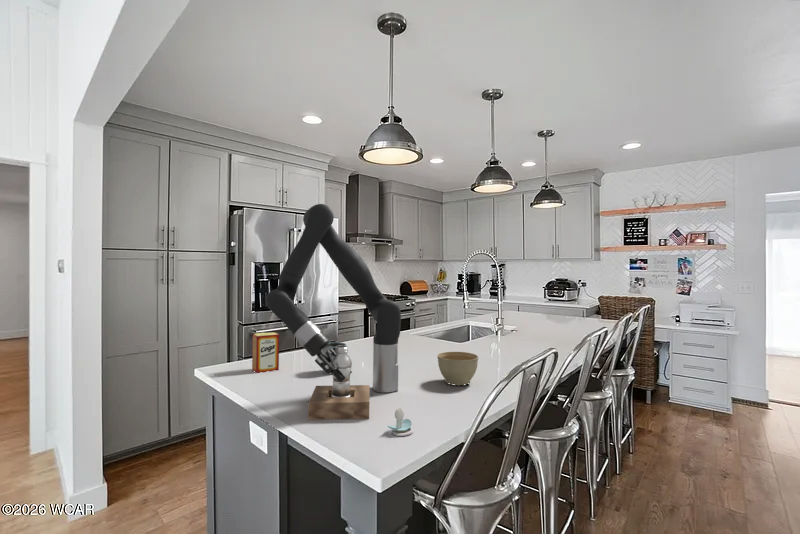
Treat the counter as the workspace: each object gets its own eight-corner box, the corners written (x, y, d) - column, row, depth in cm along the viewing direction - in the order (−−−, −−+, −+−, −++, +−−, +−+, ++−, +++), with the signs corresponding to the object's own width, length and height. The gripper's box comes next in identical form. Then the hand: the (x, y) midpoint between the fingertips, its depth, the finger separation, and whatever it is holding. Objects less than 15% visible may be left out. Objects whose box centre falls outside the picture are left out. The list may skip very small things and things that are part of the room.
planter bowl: (476, 377, 163) (476, 351, 163) (480, 390, 147) (480, 360, 147) (437, 376, 164) (437, 350, 164) (436, 388, 148) (437, 359, 148)
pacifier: (418, 432, 108) (404, 425, 113) (419, 410, 108) (404, 403, 113) (399, 440, 104) (384, 432, 108) (399, 416, 103) (385, 409, 108)
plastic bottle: (341, 404, 130) (342, 343, 130) (355, 408, 125) (356, 346, 125) (326, 409, 125) (326, 346, 125) (340, 414, 120) (341, 349, 120)
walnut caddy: (369, 399, 134) (369, 385, 134) (369, 418, 117) (369, 402, 117) (315, 400, 133) (316, 385, 133) (308, 419, 116) (308, 403, 116)
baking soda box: (274, 366, 176) (274, 331, 176) (278, 370, 171) (279, 333, 171) (252, 369, 171) (252, 333, 171) (256, 373, 165) (256, 335, 166)
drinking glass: (321, 369, 173) (321, 342, 173) (343, 368, 176) (344, 341, 176) (323, 375, 163) (323, 346, 163) (347, 374, 166) (348, 345, 166)
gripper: (310, 334, 119) (347, 375, 117) (327, 327, 133) (361, 364, 131) (294, 350, 120) (330, 392, 118) (312, 342, 134) (345, 378, 132)
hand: (346, 377), depth 125 cm, fingers closed on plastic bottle, 6 cm apart
